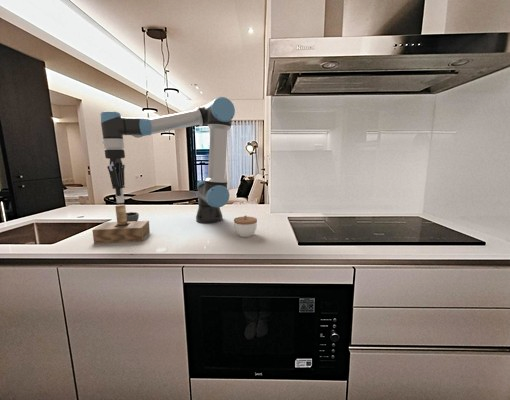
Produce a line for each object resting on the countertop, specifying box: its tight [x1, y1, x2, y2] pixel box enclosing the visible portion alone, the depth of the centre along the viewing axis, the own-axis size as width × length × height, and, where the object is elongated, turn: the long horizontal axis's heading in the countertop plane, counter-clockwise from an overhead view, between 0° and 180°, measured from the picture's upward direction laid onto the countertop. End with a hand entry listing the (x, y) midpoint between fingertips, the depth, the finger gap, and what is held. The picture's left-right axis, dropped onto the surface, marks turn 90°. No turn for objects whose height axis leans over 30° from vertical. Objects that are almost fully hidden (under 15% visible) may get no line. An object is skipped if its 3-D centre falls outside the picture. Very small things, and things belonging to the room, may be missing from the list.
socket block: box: [91, 220, 151, 244], centre depth 116 cm, size 20×12×6 cm, turn 98°
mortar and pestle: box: [119, 203, 140, 222], centre depth 133 cm, size 11×9×12 cm
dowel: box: [114, 204, 127, 227], centre depth 115 cm, size 4×4×14 cm
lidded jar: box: [233, 215, 258, 238], centre depth 118 cm, size 11×11×9 cm
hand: (120, 202), depth 114 cm, fingers closed
